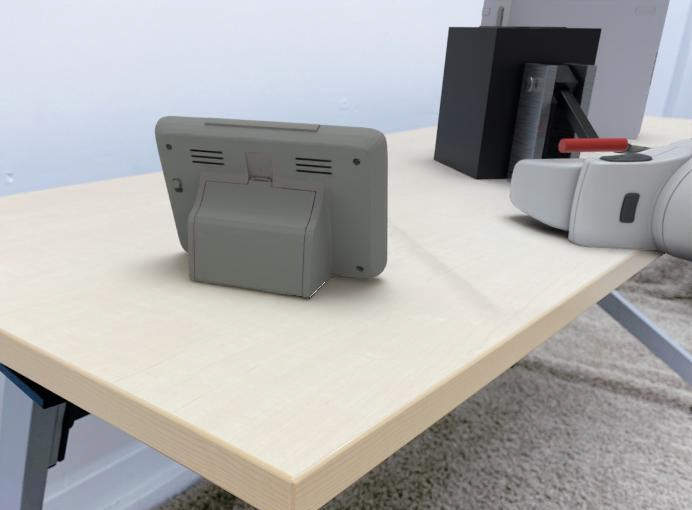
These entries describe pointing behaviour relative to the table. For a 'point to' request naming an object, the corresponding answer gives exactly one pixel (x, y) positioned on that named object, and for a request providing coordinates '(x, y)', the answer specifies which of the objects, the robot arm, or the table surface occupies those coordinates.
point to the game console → (602, 50)
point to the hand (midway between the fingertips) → (586, 166)
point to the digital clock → (276, 200)
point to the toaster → (496, 90)
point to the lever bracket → (546, 112)
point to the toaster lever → (579, 119)
